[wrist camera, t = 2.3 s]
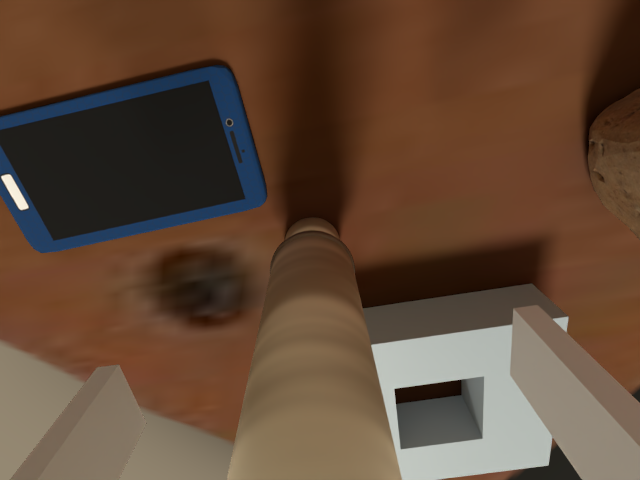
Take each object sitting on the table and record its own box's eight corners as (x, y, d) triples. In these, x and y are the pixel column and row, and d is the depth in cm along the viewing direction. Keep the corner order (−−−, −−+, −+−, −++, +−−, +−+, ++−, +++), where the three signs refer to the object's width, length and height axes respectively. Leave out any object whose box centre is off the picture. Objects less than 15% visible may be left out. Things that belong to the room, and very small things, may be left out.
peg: (269, 215, 20) (184, 487, 7) (342, 203, 20) (411, 458, 6) (284, 279, 22) (239, 603, 8) (351, 268, 22) (421, 582, 8)
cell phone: (-30, 124, 19) (-44, 126, 18) (232, 60, 18) (229, 60, 17) (43, 251, 21) (34, 257, 21) (272, 202, 21) (270, 206, 20)
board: (309, 316, 23) (309, 353, 20) (531, 283, 23) (568, 316, 19) (336, 444, 28) (339, 491, 25) (520, 420, 27) (548, 465, 24)
